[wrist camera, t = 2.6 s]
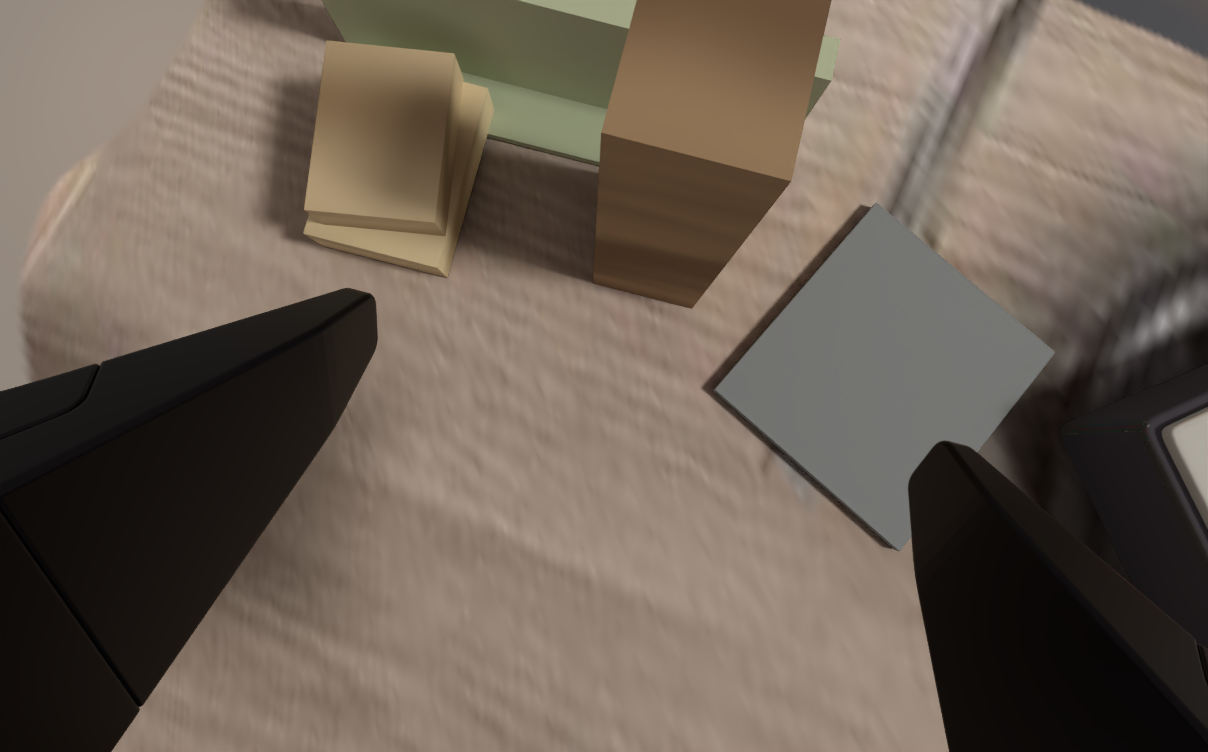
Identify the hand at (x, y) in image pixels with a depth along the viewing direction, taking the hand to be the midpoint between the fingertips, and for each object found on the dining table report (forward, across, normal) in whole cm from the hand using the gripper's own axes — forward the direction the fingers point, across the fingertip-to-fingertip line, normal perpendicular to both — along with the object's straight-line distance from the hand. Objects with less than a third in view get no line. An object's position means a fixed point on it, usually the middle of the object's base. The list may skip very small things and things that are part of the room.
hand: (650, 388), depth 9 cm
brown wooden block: (+14, 0, +4) cm, 15 cm away
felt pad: (+12, -10, +6) cm, 17 cm away
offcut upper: (+13, +10, +3) cm, 17 cm away
